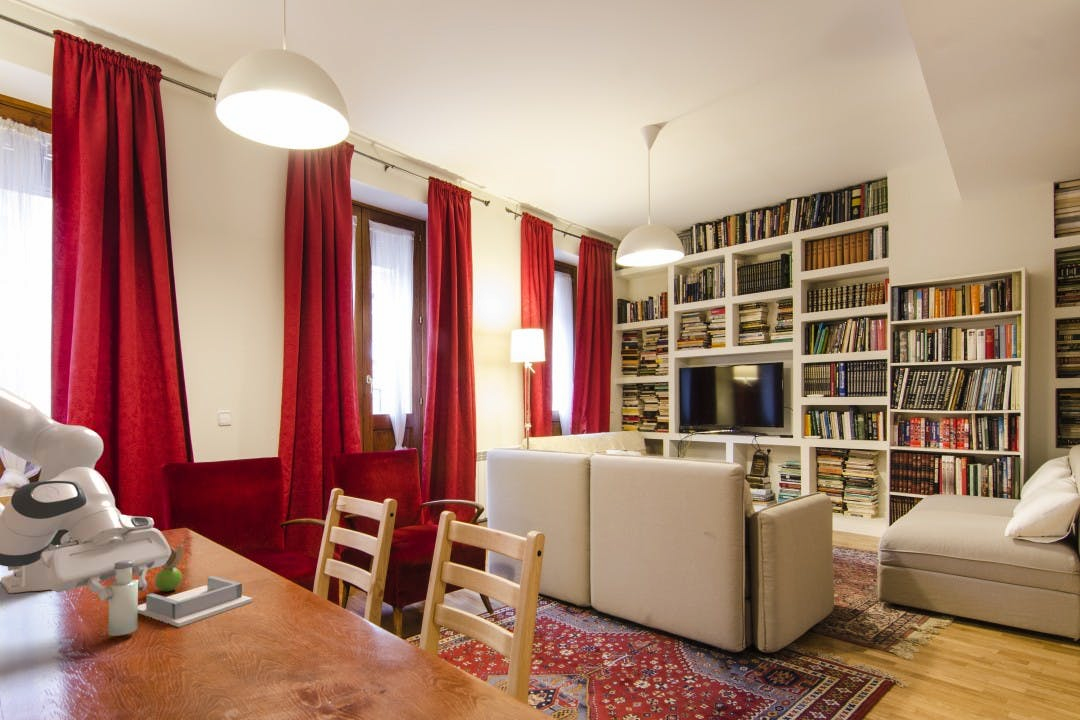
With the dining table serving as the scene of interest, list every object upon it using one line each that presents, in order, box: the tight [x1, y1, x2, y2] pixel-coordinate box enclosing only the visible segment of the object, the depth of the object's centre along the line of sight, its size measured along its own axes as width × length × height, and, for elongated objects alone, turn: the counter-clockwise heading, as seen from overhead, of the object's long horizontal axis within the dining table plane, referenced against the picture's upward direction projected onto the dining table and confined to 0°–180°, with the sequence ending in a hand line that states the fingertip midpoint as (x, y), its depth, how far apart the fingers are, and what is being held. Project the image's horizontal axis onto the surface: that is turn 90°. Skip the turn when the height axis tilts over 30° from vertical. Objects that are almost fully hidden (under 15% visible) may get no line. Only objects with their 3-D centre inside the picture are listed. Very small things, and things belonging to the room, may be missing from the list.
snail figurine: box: [154, 539, 185, 593], centre depth 139 cm, size 5×6×12 cm
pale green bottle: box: [107, 560, 139, 637], centre depth 114 cm, size 5×5×13 cm
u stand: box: [138, 575, 254, 628], centre depth 129 cm, size 18×16×4 cm
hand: (125, 593), depth 114 cm, fingers closed on pale green bottle, 5 cm apart
